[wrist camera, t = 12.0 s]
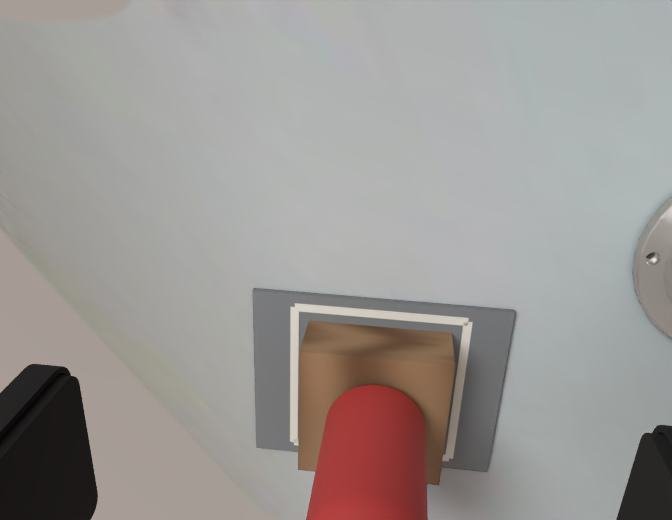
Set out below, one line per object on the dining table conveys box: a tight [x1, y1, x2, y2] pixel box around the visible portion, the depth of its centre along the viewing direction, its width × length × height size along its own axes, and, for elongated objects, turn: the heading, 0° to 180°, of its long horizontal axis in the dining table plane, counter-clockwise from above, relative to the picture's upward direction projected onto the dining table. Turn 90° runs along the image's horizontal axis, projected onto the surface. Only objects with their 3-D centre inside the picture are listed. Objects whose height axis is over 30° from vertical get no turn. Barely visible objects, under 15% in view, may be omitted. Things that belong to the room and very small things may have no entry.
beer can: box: [306, 384, 428, 520], centre depth 37 cm, size 7×7×12 cm
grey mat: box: [253, 288, 515, 472], centre depth 46 cm, size 18×14×1 cm
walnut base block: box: [298, 321, 455, 485], centre depth 44 cm, size 10×10×4 cm
